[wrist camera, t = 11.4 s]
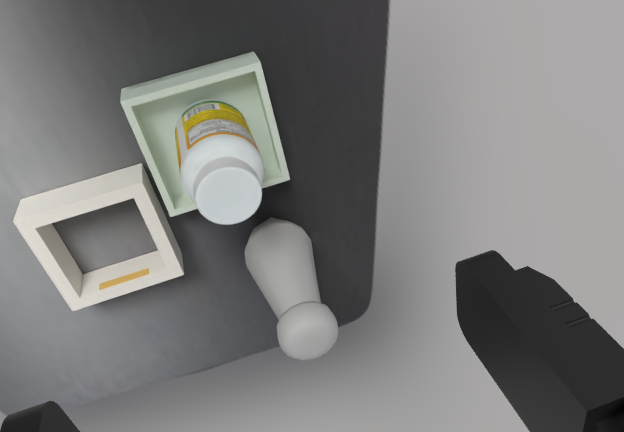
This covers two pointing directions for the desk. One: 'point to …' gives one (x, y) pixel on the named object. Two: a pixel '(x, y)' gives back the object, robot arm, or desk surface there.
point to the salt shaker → (291, 288)
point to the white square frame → (84, 198)
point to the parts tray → (185, 91)
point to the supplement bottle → (219, 161)
